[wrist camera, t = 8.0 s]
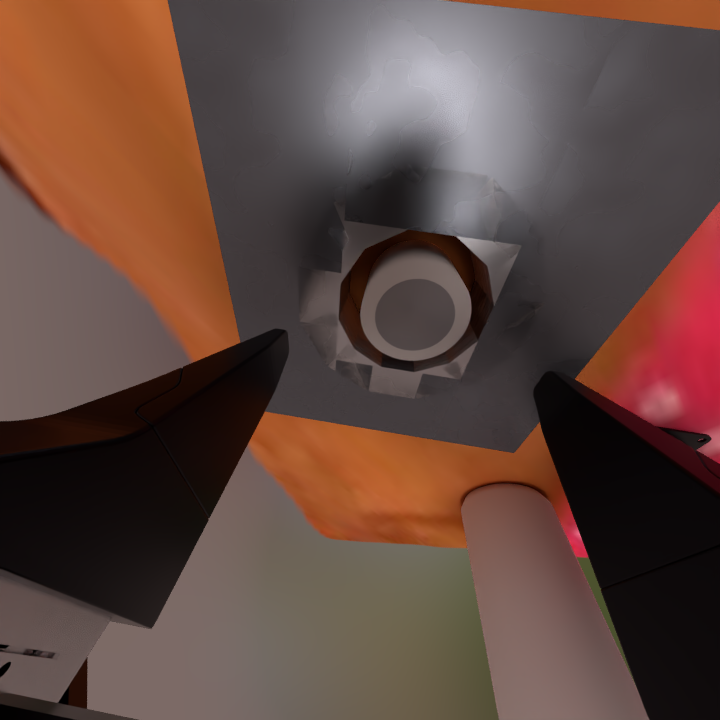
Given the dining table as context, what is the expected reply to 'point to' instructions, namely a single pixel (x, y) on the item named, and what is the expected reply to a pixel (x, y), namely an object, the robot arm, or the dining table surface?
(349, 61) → the dark grey square base
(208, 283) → the dining table surface
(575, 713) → the alcohol
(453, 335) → the cap
